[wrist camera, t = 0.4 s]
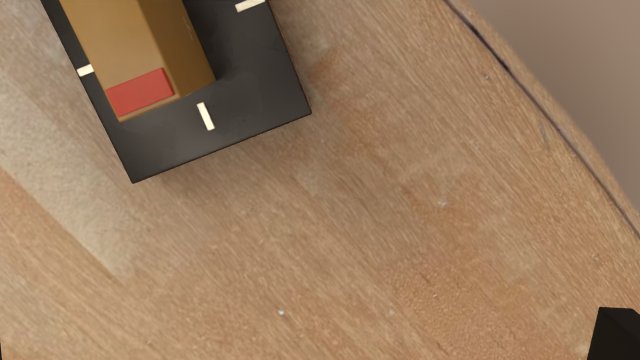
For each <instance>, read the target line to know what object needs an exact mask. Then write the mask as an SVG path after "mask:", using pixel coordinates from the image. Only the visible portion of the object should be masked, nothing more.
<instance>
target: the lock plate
mask: <svg viewBox="0 0 640 360" xmlns="http://www.w3.org/2000/svg"><path fill="white" fill-rule="evenodd" d="M40 1H41V3H42V5H43V7H44V8H45V10H46V12H47V14H48V16H49V18H50V20H51V22H52V24H53V26H54V28H55V30H56V32H57V34H58V36H59V38H60V40H61V42H62V44H63V46H64V48H65V50H66V52H67V54H68V56H69V58H70V60H71V62H72V64H73V66H74V68H75V70H76V72H77V74H78V76H79V78H80V80H81V82H82V84H83V86H84V88H85V90H86V92H87V94H88V96H89V98H90V100H91V102H92V104H93V106H94V108H95V110H96V112H97V114H98V116H99V118H100V120H101V122H102V124H103V126H104V128H105V130H106V132H107V134H108V136H109V138H110V140H111V142H112V144H113V146H114V148H115V150H116V152H117V154H118V156H119V158H120V160H121V162H122V164H123V166H124V168H125V170H126V172H127V174H128V176H129V178H130V180H131V182H132V183H133V184H134V183H137V182H140V181H142V180H145V179H147V178H150V177H152V176H155V175H157V174H160V173H163V172H165V171H168V170H170V169H173V168H175V167H178V166H180V165H183V164H185V163H188V162H191V161H193V160H196V159H198V158H201V157H203V156H206V155H208V154H211V153H214V152H216V151H219V150H221V149H224V148H226V147H229V146H231V145H234V144H237V143H239V142H242V141H244V140H247V139H249V138H252V137H254V136H257V135H259V134H262V133H265V132H267V131H270V130H272V129H275V128H277V127H280V126H282V125H285V124H288V123H290V122H293V121H295V120H298V119H300V118H303V117H305V116H308V115H311V114H312V109H311V105H310V102H309V100H308V97H307V94H306V92H305V89H304V87H303V84H302V82H301V79H300V77H299V74H298V71H297V69H296V66H295V64H294V61H293V59H292V56H291V54H290V51H289V48H288V46H287V43H286V41H285V38H284V36H283V33H282V31H281V28H280V25H279V23H278V20H277V18H276V15H275V13H274V10H273V8H272V5H271V2H270V0H182V2H183V5H184V7H185V9H186V12H187V14H188V16H189V19H190V21H191V23H192V26H193V28H194V30H195V32H196V35H197V37H198V39H199V42H200V44H201V46H202V49H203V51H204V53H205V56H206V58H207V60H208V62H209V65H210V67H211V69H212V72H213V74H214V76H215V79H216V81H215V82H213V83H211V84H209V85H207V86H205V87H203V88H201V89H199V90H197V91H195V92H193V93H191V94H189V95H187V96H185V97H183V98H181V99H179V100H176V101H174V102H171V103H169V104H166V105H164V106H161V107H159V108H156V109H154V110H151V111H149V112H146V113H144V114H141V115H139V116H136V117H134V118H131V119H129V120H126V121H124V122H119V121H118V119H117V117H116V115H115V113H114V111H113V109H112V107H111V105H110V103H109V101H108V99H107V97H106V95H105V92H104V90H103V88H102V86H101V84H100V82H99V80H98V78H97V76H96V74H95V72H94V70H93V68H92V66H91V64H90V62H89V60H88V58H87V56H86V54H85V52H84V50H83V48H82V46H81V44H80V42H79V40H78V38H77V36H76V34H75V32H74V29H73V27H72V25H71V23H70V21H69V19H68V17H67V15H66V13H65V11H64V9H63V7H62V5H61V3H60V1H59V0H40Z"/></svg>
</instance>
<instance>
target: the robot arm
mask: <svg viewBox="0 0 640 360" xmlns="http://www.w3.org/2000/svg"><path fill="white" fill-rule="evenodd" d="M0 360H2V356H1V345H0ZM587 360H640V315H639V314H638V313H637V312H636V311H635V310H633V309H629V308H610V307H599V310H598V315H597V319H596V323H595V327H594V332H593V336H592V340H591V344H590V349H589V353H588V357H587Z"/></svg>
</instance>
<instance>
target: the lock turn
mask: <svg viewBox="0 0 640 360" xmlns="http://www.w3.org/2000/svg"><path fill="white" fill-rule="evenodd" d="M59 1H60V3H61V5H62V7H63V9H64V11H65V13H66V15H67V17H68V19H69V21H70V23H71V25H72V27H73V29H74V32H75V34H76V36H77V38H78V40H79V42H80V44H81V46H82V48H83V50H84V52H85V54H86V56H87V58H88V60H89V62H90V64H91V66H92V68H93V70H94V72H95V74H96V76H97V78H98V80H99V82H100V84H101V86H102V88H103V90H104V92H105V95H106V97H107V99H108V101H109V103H110V105H111V107H112V109H113V111H114V113H115V115H116V117H117V119H118V121H119V122H124V121H126V120H129V119H131V118H134V117H136V116H139V115H141V114H144V113H146V112H149V111H151V110H154V109H156V108H159V107H161V106H164V105H166V104H169V103H171V102H174V101H176V100H179V99H181V98H183V97H185V96H187V95H189V94H191V93H193V92H195V91H197V90H199V89H201V88H203V87H205V86H207V85H209V84H211V83H213V82H215V81H216V79H215V76H214V74H213V72H212V69H211V67H210V65H209V62H208V60H207V58H206V56H205V53H204V51H203V49H202V46H201V44H200V42H199V39H198V37H197V35H196V32H195V30H194V28H193V26H192V23H191V21H190V19H189V16H188V14H187V12H186V9H185V7H184V5H183V2H182V0H59Z"/></svg>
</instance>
